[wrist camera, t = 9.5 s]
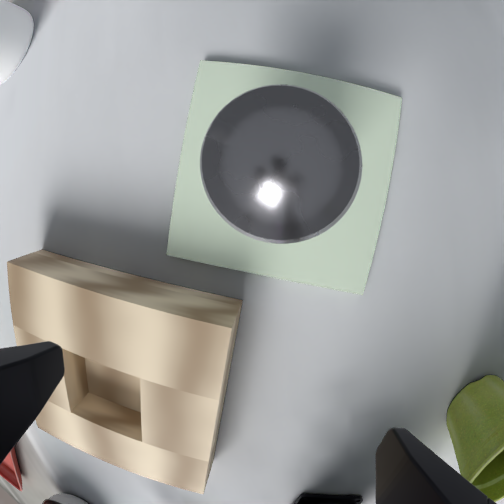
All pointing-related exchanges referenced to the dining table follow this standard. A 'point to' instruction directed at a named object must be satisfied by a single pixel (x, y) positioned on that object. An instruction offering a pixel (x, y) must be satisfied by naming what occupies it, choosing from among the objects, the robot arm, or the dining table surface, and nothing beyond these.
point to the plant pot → (480, 434)
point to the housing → (129, 363)
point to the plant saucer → (11, 470)
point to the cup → (13, 37)
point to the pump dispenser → (64, 499)
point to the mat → (305, 252)
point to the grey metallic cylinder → (281, 164)
